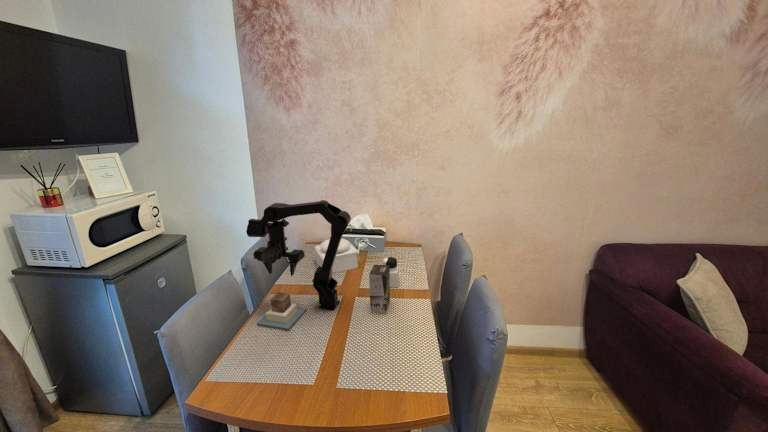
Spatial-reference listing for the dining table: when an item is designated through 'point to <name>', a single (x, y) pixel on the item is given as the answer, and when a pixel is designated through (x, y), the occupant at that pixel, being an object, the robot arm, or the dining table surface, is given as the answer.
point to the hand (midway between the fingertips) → (281, 274)
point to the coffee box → (379, 288)
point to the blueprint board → (282, 325)
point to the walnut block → (280, 302)
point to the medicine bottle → (392, 270)
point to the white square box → (338, 256)
